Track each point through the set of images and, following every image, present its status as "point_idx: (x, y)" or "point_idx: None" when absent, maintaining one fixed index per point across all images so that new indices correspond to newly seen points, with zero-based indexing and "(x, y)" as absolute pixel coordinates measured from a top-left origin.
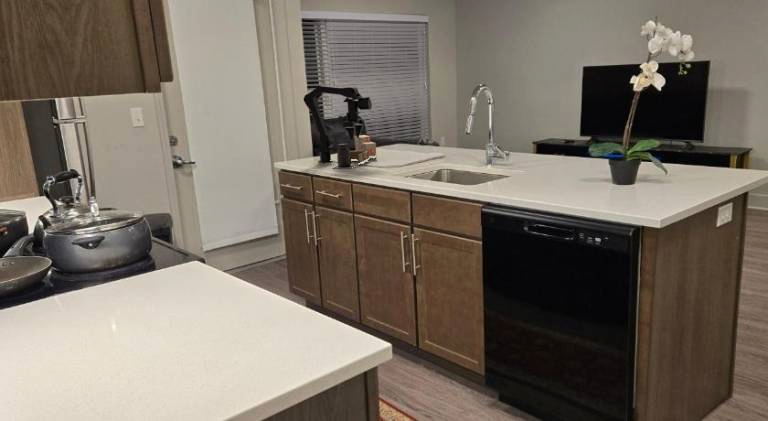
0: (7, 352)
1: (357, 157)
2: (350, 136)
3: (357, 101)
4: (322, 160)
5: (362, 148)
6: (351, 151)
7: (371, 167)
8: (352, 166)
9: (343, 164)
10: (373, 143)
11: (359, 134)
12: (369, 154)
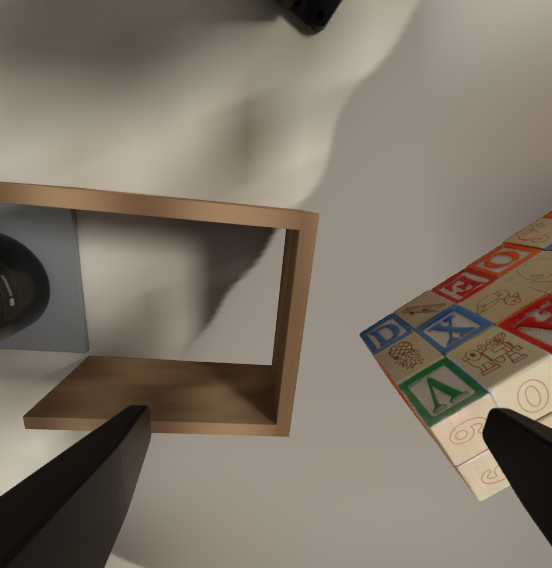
0: None
1: (43, 399)
2: (61, 477)
3: None
4: None
5: (503, 318)
6: (295, 265)
7: (47, 455)
8: (19, 340)
9: None
10: (468, 485)
11: (537, 520)
12: (387, 375)
